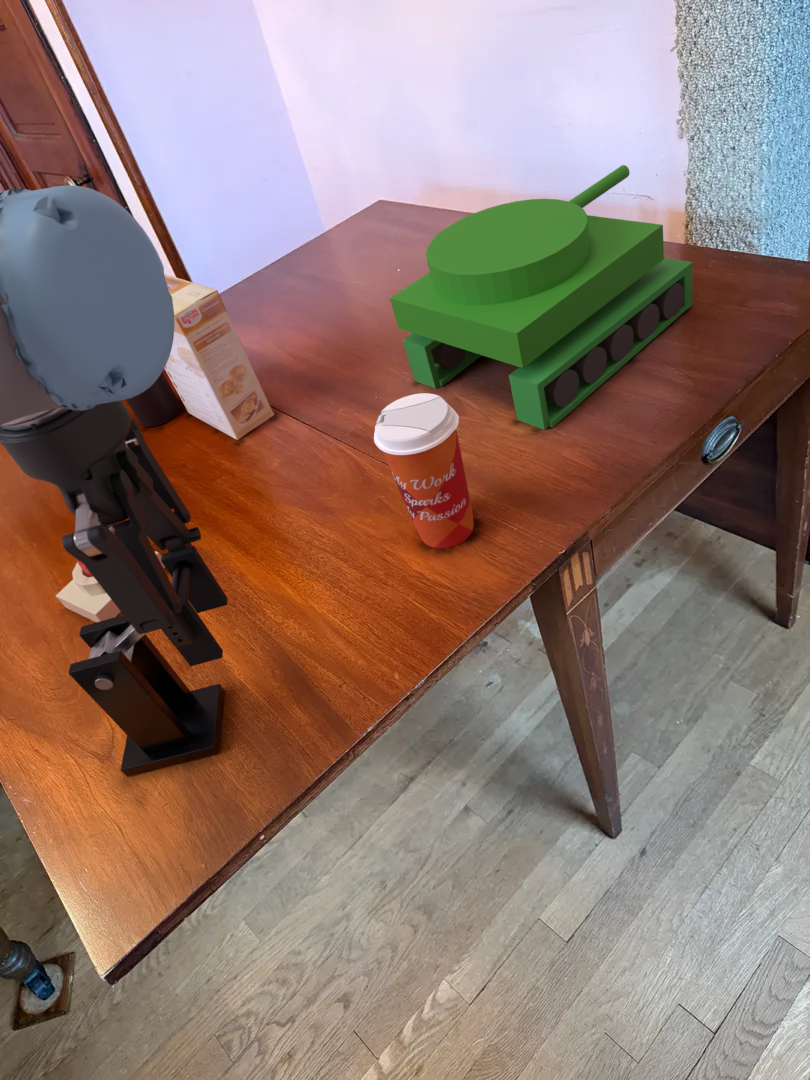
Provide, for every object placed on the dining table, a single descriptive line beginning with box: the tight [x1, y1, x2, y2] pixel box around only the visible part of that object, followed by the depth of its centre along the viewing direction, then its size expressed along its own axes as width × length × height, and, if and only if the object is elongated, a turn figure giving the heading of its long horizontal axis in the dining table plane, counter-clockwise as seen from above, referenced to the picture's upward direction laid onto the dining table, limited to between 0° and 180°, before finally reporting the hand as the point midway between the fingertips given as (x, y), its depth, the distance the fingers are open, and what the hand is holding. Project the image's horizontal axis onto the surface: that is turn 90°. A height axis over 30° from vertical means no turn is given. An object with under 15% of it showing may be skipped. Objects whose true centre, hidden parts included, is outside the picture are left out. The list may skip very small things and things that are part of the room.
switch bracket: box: [67, 614, 225, 778], centre depth 65 cm, size 9×7×14 cm
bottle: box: [125, 371, 181, 428], centre depth 109 cm, size 7×7×20 cm
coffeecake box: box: [163, 273, 275, 441], centre depth 104 cm, size 15×7×20 cm, turn 42°
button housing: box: [55, 550, 166, 623], centre depth 87 cm, size 10×8×4 cm
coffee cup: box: [373, 392, 475, 549], centre depth 75 cm, size 8×8×15 cm
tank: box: [389, 164, 694, 431], centre depth 96 cm, size 24×35×16 cm
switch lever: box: [88, 560, 193, 662], centre depth 60 cm, size 12×5×2 cm, turn 95°
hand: (209, 630), depth 61 cm, fingers closed on switch lever, 5 cm apart
